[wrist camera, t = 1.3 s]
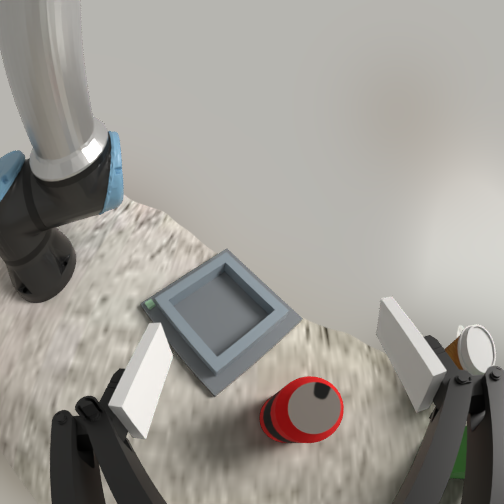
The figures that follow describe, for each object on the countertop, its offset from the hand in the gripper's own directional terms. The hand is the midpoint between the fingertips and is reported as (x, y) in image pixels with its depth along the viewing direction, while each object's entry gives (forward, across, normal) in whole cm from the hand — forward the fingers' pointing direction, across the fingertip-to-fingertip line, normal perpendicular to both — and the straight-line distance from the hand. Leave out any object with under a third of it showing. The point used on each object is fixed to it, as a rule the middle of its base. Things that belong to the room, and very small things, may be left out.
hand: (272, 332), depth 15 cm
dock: (+23, -8, -13) cm, 27 cm away
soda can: (+10, 0, -24) cm, 26 cm away
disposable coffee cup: (+15, +29, -29) cm, 44 cm away
